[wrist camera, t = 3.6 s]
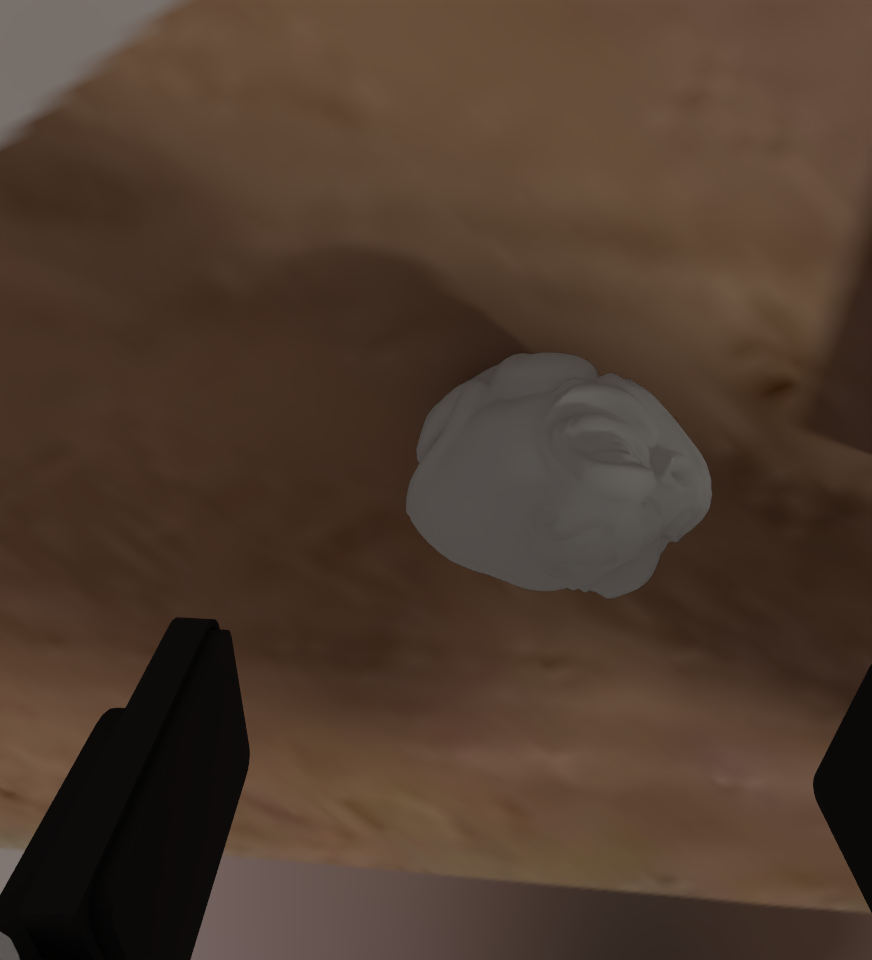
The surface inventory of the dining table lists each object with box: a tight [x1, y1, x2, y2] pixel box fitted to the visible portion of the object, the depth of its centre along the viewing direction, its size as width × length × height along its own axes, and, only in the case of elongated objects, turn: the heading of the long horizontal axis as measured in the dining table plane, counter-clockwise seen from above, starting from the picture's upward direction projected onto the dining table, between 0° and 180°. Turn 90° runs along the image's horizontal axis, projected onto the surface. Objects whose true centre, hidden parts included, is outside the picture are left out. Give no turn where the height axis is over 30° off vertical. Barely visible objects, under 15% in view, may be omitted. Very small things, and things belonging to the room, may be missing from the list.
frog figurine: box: [406, 353, 712, 599], centre depth 17 cm, size 6×7×7 cm
